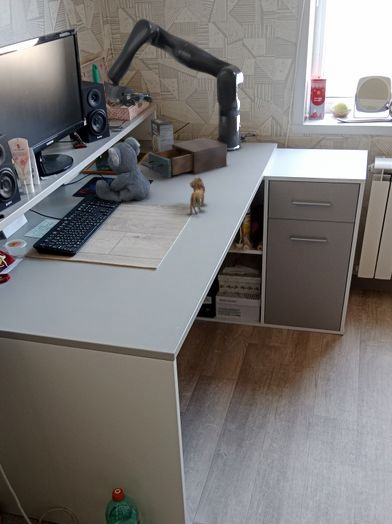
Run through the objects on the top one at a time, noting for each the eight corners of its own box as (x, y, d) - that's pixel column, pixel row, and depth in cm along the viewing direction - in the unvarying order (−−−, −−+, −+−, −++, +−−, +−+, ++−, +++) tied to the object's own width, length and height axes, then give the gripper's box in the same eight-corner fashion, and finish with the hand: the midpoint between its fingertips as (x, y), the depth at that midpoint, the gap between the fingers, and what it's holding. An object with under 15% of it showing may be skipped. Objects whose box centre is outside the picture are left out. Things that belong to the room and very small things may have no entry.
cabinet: (194, 174, 224) (194, 151, 219) (172, 165, 234) (172, 144, 229) (226, 165, 233) (226, 144, 228) (204, 158, 242) (204, 137, 237)
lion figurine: (190, 200, 199) (189, 175, 194) (205, 200, 199) (204, 175, 194) (189, 216, 187) (188, 189, 182) (205, 216, 187) (205, 189, 182)
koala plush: (121, 185, 215) (116, 131, 204) (161, 192, 208) (158, 137, 196) (93, 199, 203) (86, 143, 192) (134, 207, 195) (129, 150, 184)
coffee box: (152, 158, 243) (150, 119, 233) (166, 156, 245) (164, 117, 236) (160, 164, 236) (158, 123, 227) (174, 162, 238) (173, 122, 229)
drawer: (156, 181, 215) (155, 163, 211) (137, 172, 224) (135, 155, 220) (200, 169, 226) (200, 152, 222) (180, 162, 235) (179, 145, 231)
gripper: (107, 88, 241) (128, 94, 231) (136, 84, 248) (157, 89, 238) (109, 107, 245) (129, 113, 235) (137, 102, 252) (157, 108, 242)
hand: (143, 101), depth 236 cm, fingers open, 8 cm apart
